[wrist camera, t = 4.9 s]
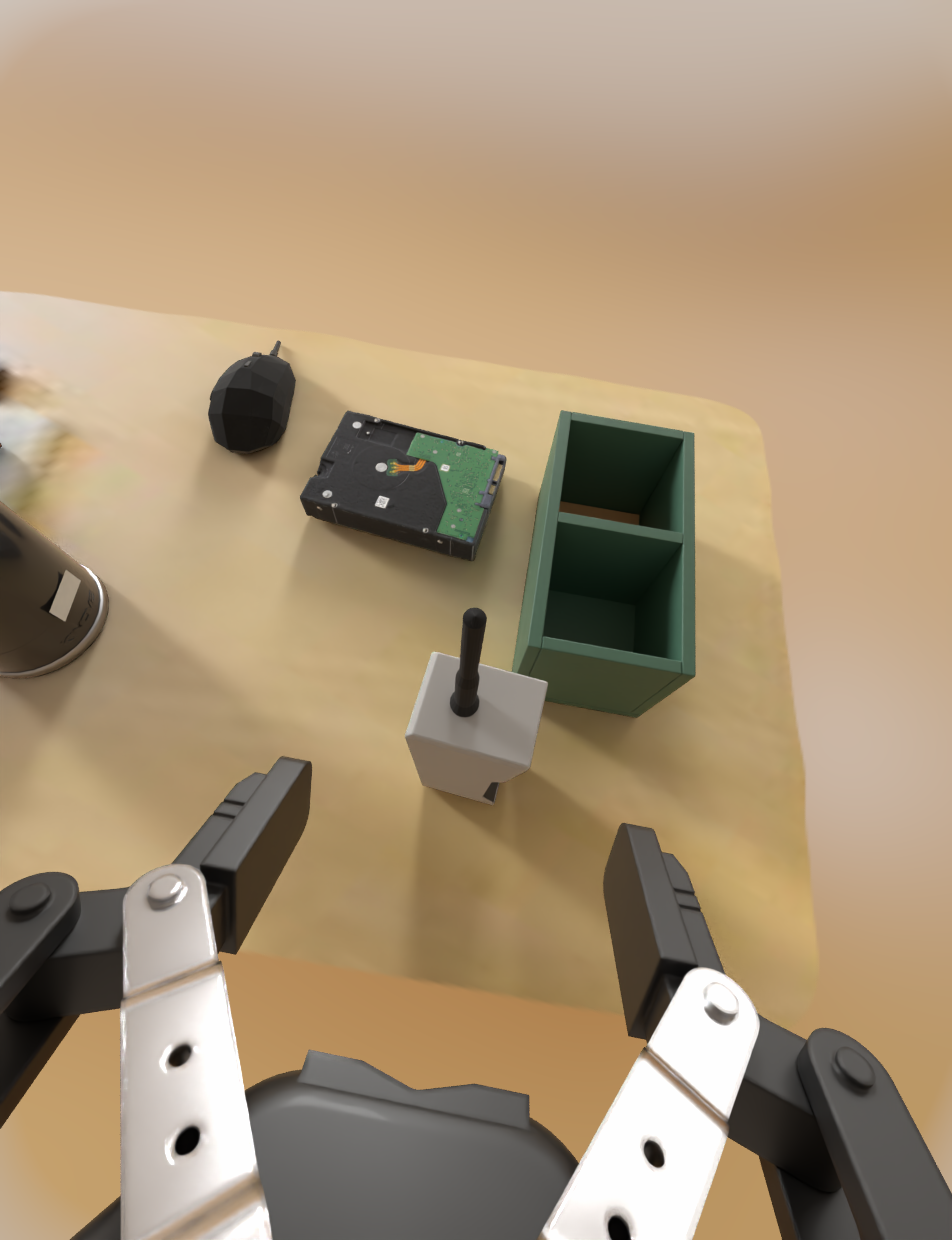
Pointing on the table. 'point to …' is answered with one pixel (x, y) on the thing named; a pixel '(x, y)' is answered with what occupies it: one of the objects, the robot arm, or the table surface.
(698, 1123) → the robot arm
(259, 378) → the gaming mouse
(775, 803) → the table surface
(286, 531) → the table surface
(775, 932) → the table surface
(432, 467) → the disk drive
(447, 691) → the vintage mobile phone
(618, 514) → the caddy
